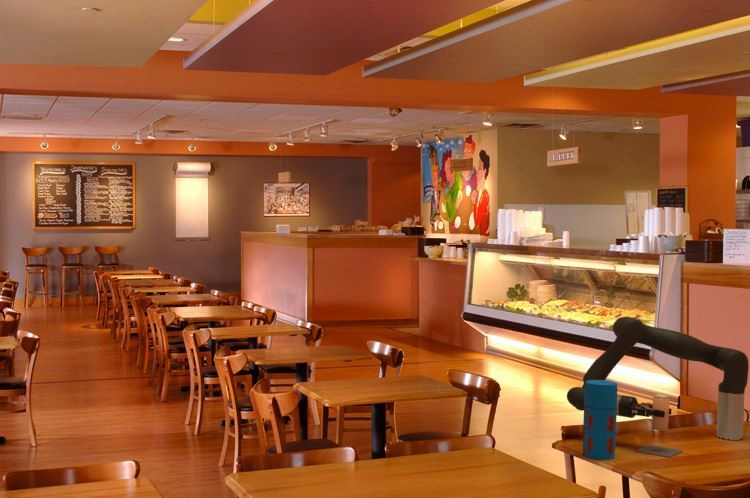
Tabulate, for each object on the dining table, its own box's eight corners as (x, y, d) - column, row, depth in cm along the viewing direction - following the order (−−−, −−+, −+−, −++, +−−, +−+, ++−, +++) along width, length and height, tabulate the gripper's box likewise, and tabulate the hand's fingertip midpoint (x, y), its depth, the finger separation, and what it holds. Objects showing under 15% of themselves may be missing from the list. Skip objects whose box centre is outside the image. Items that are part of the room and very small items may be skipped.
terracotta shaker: (655, 426, 334) (656, 392, 334) (670, 429, 331) (672, 395, 331) (648, 429, 330) (650, 394, 330) (664, 431, 327) (666, 397, 326)
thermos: (612, 452, 327) (615, 380, 326) (617, 460, 316) (620, 385, 316) (580, 451, 328) (583, 379, 327) (584, 458, 317) (586, 384, 317)
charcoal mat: (649, 445, 339) (649, 444, 339) (682, 451, 332) (682, 450, 332) (636, 451, 330) (636, 450, 330) (669, 457, 322) (669, 456, 322)
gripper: (613, 397, 333) (660, 405, 323) (630, 392, 345) (676, 399, 334) (612, 418, 334) (659, 427, 323) (629, 413, 345) (674, 420, 335)
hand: (667, 413), depth 329 cm, fingers closed on terracotta shaker, 5 cm apart
